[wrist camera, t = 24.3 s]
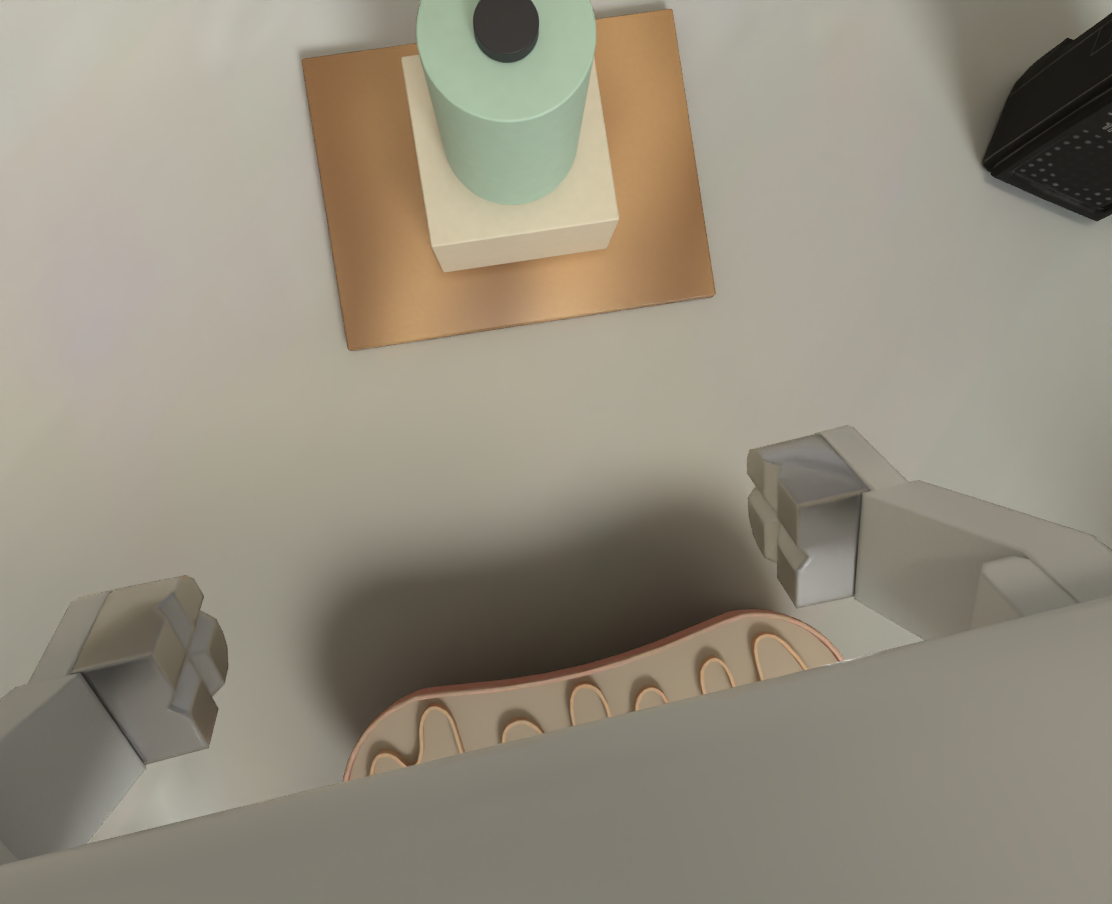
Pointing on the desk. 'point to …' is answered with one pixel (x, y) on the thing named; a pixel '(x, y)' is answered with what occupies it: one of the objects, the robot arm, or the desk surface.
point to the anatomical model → (589, 690)
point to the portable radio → (1061, 126)
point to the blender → (509, 131)
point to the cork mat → (526, 286)
